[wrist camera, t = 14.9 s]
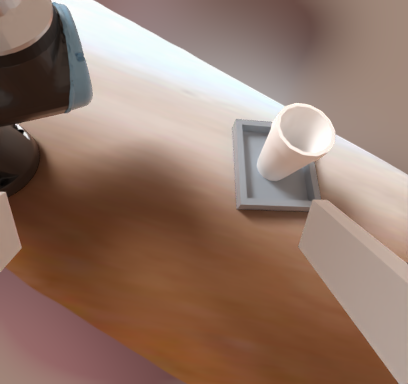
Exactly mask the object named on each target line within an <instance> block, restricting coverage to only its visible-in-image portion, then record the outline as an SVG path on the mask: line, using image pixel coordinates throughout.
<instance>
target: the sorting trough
mask: <svg viewBox="0 0 408 384" xmlns="http://www.w3.org/2000/svg"><path fill="white" fill-rule="evenodd" d="M271 125H272V122H266V121H254V120H242V119H236V120H235V122H234V125H233V127H232V132H233V151H234V170H235V188H236V207H237V209H244V210H273V211H302V212H309V210H310V206H311V203H312V200H321V196H320V190H319V185H318V180H317V174H316V169H315V163H314V162H311V163H309V164H308V165H306V166H304V167H302V168H301V169H299V170H297V171H295V172H294V173H292V174H290V175H288V176H287V177H285V178H283V179H281V180H278V181H269V180H267V179H266V178H264V177H263V176H262V175H261V174H260V173H259V171H258V168H257V161H258V158H259V155H260V153H261V151H262V148H263V146H264V144H265V141H266V139H267V137H268V134H269V132H270V130H271Z"/></svg>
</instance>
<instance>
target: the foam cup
mask: <svg viewBox="0 0 408 384" xmlns="http://www.w3.org/2000/svg"><path fill="white" fill-rule="evenodd" d="M334 143H335V130H334V128H333V125H332V123H331V121H330V120H329V118H328V117H327V116H326V115H325V114H324V113H323V112H322V111H320V110H319V109H317V108H315V107H313V106H311V105H308V104H300V103H295V104H291V105H288V106H285V107H284V108H283V109H282V110H281V111H280V112H279V113H278V115H277V116H276V118H275V119H274V121H273V122H272V125H271V130H270V132H269V134H268V137H267V139H266V141H265V144H264V146H263V148H262V151H261V153H260V155H259V158H258V161H257V168H258V171H259V173H260V174H261V175H262V176H263V177H264V178H266V179H267V180H269V181H278V180H281V179H283V178H285V177H287V176H288V175H290V174H292V173H294V172H295V171H297V170H299V169H301V168H302V167H304V166H306V165H308V164H309V163H311V162H314V161H316V160H319V159H320V158H321V157H323V156H324V155H325V154H326V153H327V152H328V151H329V150H330V149H331V147H332V146H333V145H334Z"/></svg>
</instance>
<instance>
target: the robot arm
mask: <svg viewBox="0 0 408 384" xmlns="http://www.w3.org/2000/svg"><path fill="white" fill-rule="evenodd" d="M92 96H93V92H92V85H91V80H90V75H89V71H88V67H87V64H86V60H85V58H84V54H83V50H82V46H81V42H80V39H79V35H78V32H77V29H76V26H75V23H74V21H73V18H72V16H71V13H70V11H69V9H68V8H67V7H66V6H65V5H63V4H58V3H55V2H53V3H52V2H51V0H0V272H1V271H2V270H3V268H5V266H6V265H7V264H8V263H9V262H10V261H11V260H12V258H13V257H14V256H15V255H16V254H17V253H18V252H19V251H20V249H21V248H22V247H21V243H20V240H19V236H18V233H17V229H16V226H15V222H14V219H13V215H12V212H11V208H10V205H9V201H8V198H7V197H9V196H11V195H13V194H14V193H16V192H17V191H19V190H20V189H22V188H23V187H24V186H25V185H26V184H27V183H28V182H29V181H30V180H31V178H32V177H33V175H34V174H35V172H36V170H37V167H38V164H39V159H40V154H39V148H38V145H37V143H36V142H35V140H34V139H33V138H32V136H31V135H30V134H29V133H28V132H27V131H26V130H25V129H24V128H22V127H21V126H20V125H18V124H17V123H22V122H26V121H31V120H35V119H40V118H44V117H49V116H53V115H58V114H62V113H68V112H70V111H71V110H74V109H77V108H80V107H84V106H86V105H88V104H89V103H90V102H91V100H92ZM298 247H299V249H300V250H301V251H302V253H303V254H304V255H305V257H306V258H307V259H308V261H309V262H310V264H311V265H312V266H313V268H314V269H315V270H316V272H317V273H318V274H319V276H320V277H321V278H322V280H323V281H324V283H325V284H326V285H327V287H328V288H329V289H330V291H331V292H332V293H333V295H334V296H335V298H336V299H337V300H338V302H339V303H340V304H341V306H342V307H343V308H344V310H345V311H346V312H347V314H348V315H349V317H350V318H351V319H352V321H353V322H354V323H355V325H356V326H357V327H358V329H359V330H360V332H361V333H362V334H363V336H364V337H365V338H366V340H367V341H368V342H369V344H370V345H371V346H372V348H373V349H374V351H375V352H376V353H377V355H378V356H379V357H380V359H381V360H382V361H383V363H384V364H385V366H386V367H387V368H388V370H389V371H390V372H391V374H392V375H393V376H394V378H395V379H396V380H397V382H398V383H399V384H408V263H407V262H405V261H403V260H402V259H401V258H400V257H398V256H397V255H396V254H395V253H393V252H392V251H391V250H390V249H388V248H387V247H386V246H385V245H383V244H382V243H381V242H380V241H378V240H377V239H376V238H375V237H373V236H372V235H371V234H370V233H368V232H367V231H366V230H365V229H363V228H362V227H361V226H360V225H358V224H357V223H356V222H355V221H353V220H352V219H351V218H350V217H348V216H347V215H346V214H345V213H343V212H342V211H341V210H340V209H338V208H337V207H336V206H335V205H333V204H332V203H331V202H330V201H328V200H312V203H311V206H310V210H309V213H308V216H307V220H306V223H305V226H304V229H303V233H302V236H301V239H300V243H299V246H298Z"/></svg>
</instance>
